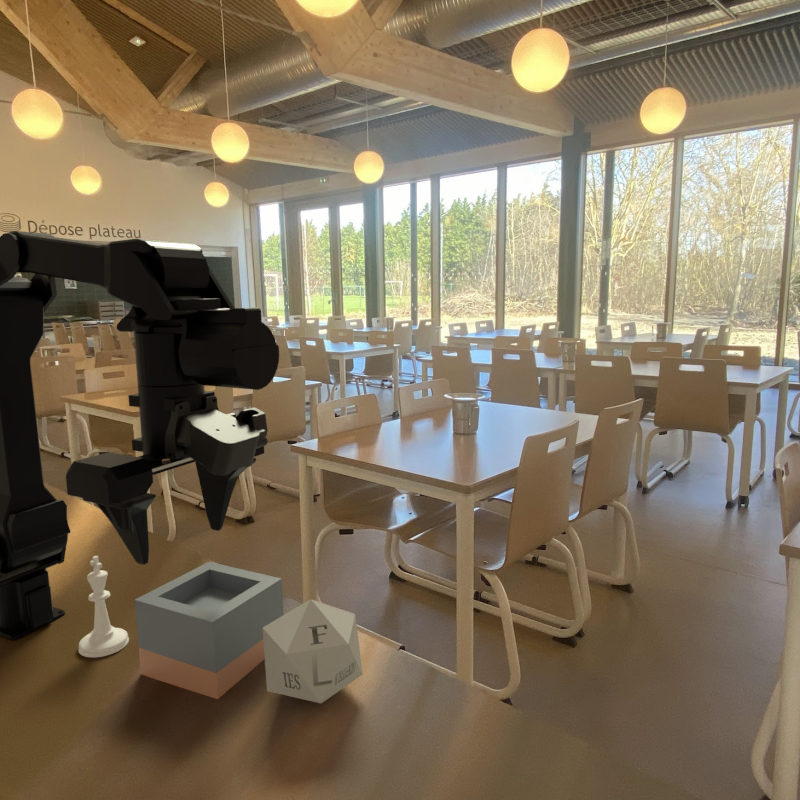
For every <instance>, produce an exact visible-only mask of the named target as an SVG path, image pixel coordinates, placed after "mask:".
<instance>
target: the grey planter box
mask: <svg viewBox="0 0 800 800" xmlns="http://www.w3.org/2000/svg"><path fill="white" fill-rule="evenodd" d="M282 583H283V579H282V578H281V577H276V576H271V575H268V574H264V573H259V572H256V571H250V570H246V569H242V568H237V567H234V566H233V567H232V566H229V565H225V564H220V563H216V562H211V561H207V562H206V563H203V564H201V565H199V566H198V567H196V568H194V569H192V570H190V571H188V572H186V573H184V574H182V575H181V576H179V577H176V578H174V579H172V580H171V581H169V582H167V583H164V584H163V585H160V586H159V587H157V588H155V589H153V590H151V591H149V592H147V593H145V594H144V595H141V596H139V597H136V598H135V599H134V608H135V619H136V630H137V643H138V653H139V665H140V675H142V676H144V677H147V678H151V679H154V680H155V681H156V680H157V681H160V682H163V683H167V684H169V685H172V686H176V687H179V688H180V689H185V690H187V691H188V690H189V691H191V692H194V693H197V694H200V695H204V696H207V697H210V698H211V699H212V698H213V699H216V700H218V699H220V698H221V697H222V696H223V695H225V694H226V693H227V692H228V691H230V689H231V688H233V687H234V686H235V685H236V684H237V683H238V682H240V681H241V680H242V679H243V678H244V677H245V676H247V675H248V674H249V673H250V672H251V671H252V670H254V669H255V668H256V667H257V666H259V664H261V663H263V661H265V656H264V643H263V629H262V628H263V627H264V626H266V625H268V624H270V623H271V622H273V621H275V620H276V619H278V618H280V617H281V616H283V615H284V601H283V600H284V599H283V597H284V596H283V584H282Z"/></svg>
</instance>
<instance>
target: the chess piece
mask: <svg viewBox="0 0 800 800" xmlns="http://www.w3.org/2000/svg"><path fill="white" fill-rule="evenodd" d="M89 563H90V566H91V567H93V571H91V572H89V573H88V574H87V575H86V580H87V582H88V583H89V585H90V588H91V590H92V591H93V592H92V593H90V594H88V599H87V600H88V601H90V602H92V603H93V602H94V619H93V620H94V621H93V623H94V624H93V629H92V630H91V631H90V632H89V633H88V634H86V635H84V637H82V638H81V639H80V641H79V643H78V654H80V655H81V656H82V657H85V658H92V659H93V658H103V657H106V656H110V655H112V654H116V653H117V652H119V651H121V650H123V649H124V648H125V647H126V646H127V645H128V644H129V643H130V642H129V641H130V637H129V633H128V631H126V630H125V629H123V628H121V627H115V626H114V625H111V621H110V617H109V613H108V610H107V605H106V600H107V599H108V598H110V596H111V592H110V591H109V590H106V589H105V587H106V583H107V579H108V575H109V573H108V571H107V570H101V569H102V568H103V564H102V563H101V562H100V559H99V556H98V555H93V556H92V560H90V561H89Z"/></svg>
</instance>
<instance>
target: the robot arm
mask: <svg viewBox="0 0 800 800" xmlns="http://www.w3.org/2000/svg"><path fill="white" fill-rule="evenodd" d="M17 273H21V274H22V273H25V274H26V273H27V274H28V273H29V274H33V276H32V277H31V279H30V280H29V279H28V278H26V277H21V276H20V277H17V276H16V275H17ZM15 276H16V277H15ZM56 278H57V279H58V278H59V279H63V280H68V281H72V282H73V281H75V282H80V283H86V284H91V285H97V286H99V287H101V288H103V289H105V290H106V292H107V293H108V294H109V295H110V297H112V298H115V299H116V300H119V301H120V302H123V303H126V304H128V305H130V306H131V308H130V310H129V311H128V313H127V314H126V315H125V316H124V317H122V318H121V319H120V320H119V322H118V323H117V324H116V330H117V331H118V332H123V333H125V332H126V333H129V332H130V333H133V339H134V340H133V341H134V353H135V354H134V356H135V366H136V367H135V368H136V380H137V393H133V394H128V406H129V407H134V408H138V411H139V421H140V422H139V424H140V435H141V436H140V437H137V438H133V439H131V447H132V451H134V452H141V453H142V455H140V456H132V455H128V454H127V455H126V454H120V453H116V452H115V453H114V452H108V451H107V452H105V453H102V454H96V455H93V456H90V457H85V458H81V459H78V460H74V461H73V462H71V464H70V465H69V467H68V469H67V470H66V474H65V481H66V490H67V491H66V492H67V495H68V496H73V497H76V498H82V501H83V502H89V503H93V504H96V506H97V507H98V508H99V510H100V511H101V512H102V513H103V515H105V517H106V518H107V519H108V521H109V522H110V523H111V524H112V525H111V526H113V528H114V529H115V531H116V532H117V534H118V536H119V537H120V539H121V540H122V542H123V544H124V545H125V546H126V548H127V550H128V551H129V553H130V555H131V556H132V558H133V559H134V561H135V562H136V564H139V565H147V564H148V563H149V557H150V555H149V554H150V543H149V541H150V540H149V528H148V527H149V526H148V525H149V524H148V509H149V508H150V506H151V504H152V503H153V502H154V500H155V499H156V496H157V495H156V494H154V493H150V492H149V491H150V488H151V486H152V485H153V483H154V477H153V476H154V475H158V474H160V473H163V472H166V471H170V470H171V471H172V470H174V469H176V468H179V467H183V466H186V465H188V464H192V463H195V467H196V471H197V475H198V481H199V484H200V485H199V486H200V490H201V494H202V499H203V500H202V501H203V504H204V510H205V513H206V517H207V520H208V523H209V527H210V529H211V530H213V531H218V532H219V531H221V530H222V528H223V526H224V522H225V519H226V515H227V512H228V508H229V505H230V502H231V499H232V495H233V492H234V488H235V487H236V483H237V481H238V479H239V477H240V475H241V474H242V473H243V472H245V471H246V470H247V469H248V468H249V467H251V466H253V465H254V464H255V463H256V461H257V458H256V457H257V456H261V455H263V454H265V446H267V445H268V438H267V435H268V425H267V416H266V412H264V411H263V410H261V409H258V408H257V407H250V408H246V409H242V410H241V411H240V412H238V414H237V413H235V412H231V413H224V412H221V411H220V410H219V404H218V397H217V396H216V395H215V391H209V390H207V391H205V387H206V386H207V387H217V388H218V387H220V388H230V389H231V388H233V389H243V390H244V389H245V390H256V391H258V390H262V389H264V388H265V387H267V386H268V385H269V384H270V383H271V382H272V380H273V379H274V377H275V376H276V374H277V370H278V366H279V364H280V363H279V361H280V347H279V345H278V344H277V342H276V338H275V336H274V334H273V331H272V330H271V329H270V327H269V326H268V325H266V324H265V323H264V322H262V309H261V308H260V307H234V305H233V303H232V302H231V301H230V299H229V297H228V295H227V294H226V292H225V291H224V289H223V287H222V286H221V284H220V283H219V281H218V279H217V278H216V276H215V274H214V273H213V271H212V270H211V268H210V266H209V265H208V261H207V258H206V256H205V255H204V254H203V248H201V247H199V246H198V245H197V244H194V243H191V242H182V241H181V242H179V241H170V240H169V241H167V240H159V239H158V240H156V239H146V238H145V239H143V238H131V239H130V238H129V239H123V240H122V239H121V240H115V241H114V240H113V241H110V242H108V243H98V242H91V241H85V240H77V239H71V238H63V237H56V236H54V235H52V234H51V233H47V232H33V231H32V232H31V231H20V230H19V231H18V230H13V231H11V230H10V231H9V232H5V233H3V234H2V235H1V236H0V636H1V637H4V638H7V639H9V640H12V641H13V640H16V639H19V638H22V637H23V636H27V635H28V634H30V633H32V632H34V631H36V630H38V629H41V628H42V627H45V626H47V625H48V624H51V623H52V622H54V621H56V620H58V619H60V618H62V617H63V616H65V615H66V611H65V610H64V609H61V608H58V607H55V606H53V598H52V597H53V596H52V590H51V589H52V587H51V585H50V579H49V578H50V576H49V571H48V568H50V567H53V566H55V565H56V566H57V565H60V564H63V563H64V562H65V558H66V557H65V556H66V550H67V543H68V539H69V538H68V537H69V534H70V533H71V529H70V526H69V523H68V505H67V504H66V502H65V500H63V499H57V498H56V497H55V496H54V495H53V494H52V493H51V491H50V490H48V488H47V487H46V486H45V482H44V473H43V466H42V456H41V447H40V445H41V444H40V437H39V428H38V419H37V418H38V417H37V409H36V400H35V399H36V398H35V394H34V393H35V392H34V383H33V374H32V362H31V361H32V360H31V359H32V357H33V354H35V350H36V349H37V347H38V345H39V343H40V342H41V339H42V338H43V336H44V332H45V331H44V330H45V328H44V327H45V321H44V319H45V314H44V313H45V312H46V311H47V309H48V308H49V307H50V306H51V304H52V303H53V301H54V300H56V297H57V295H58V292H57V286H56V285H57V284H56Z"/></svg>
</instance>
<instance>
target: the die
mask: <svg viewBox="0 0 800 800" xmlns="http://www.w3.org/2000/svg"><path fill="white" fill-rule="evenodd" d="M262 629H263V643H264V656H265V659H264V667H265V669H264V671H265V682H266V683H265V684H266V692H270V693H275V694H279V695H282V696H283V695H284V696H287V697H291V698H295V699H298V700H299V699H300V700H305V701H309V702H312V703H313V702H314V703H316V704H317V703H318V704H323V703H324V702H325V701H327V700H328V699H329V698H331V697H333V696H334V695H335V694H337V693H338V692H340V691H341V690H343V689H345V687H347V686H348V685H350V684H352V683H353V682H355V680H357V679H358V678H361V676H363V675H364V674H363V667H362V666H363V665H362V658H361V649H360V648H361V647H360V642H359V635H358V634H359V632H358V626H357V617H356V613H352V612H351V611H347V610H344V609H341V608H338V607H334V606H332V605H329V604H327V603H323V602H320V601H317V600H314V599H309V600H307V601H305V602H304V603H302V604H300V605H298V606H297V607H295V608H293V609H292V610H290V611H288V612H287V613H285V614H283V616H281V617H280V618H278V619H276V620H275V621H273V622H271V623H270V624H268V625H266V626H264V627H263V628H262Z"/></svg>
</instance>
